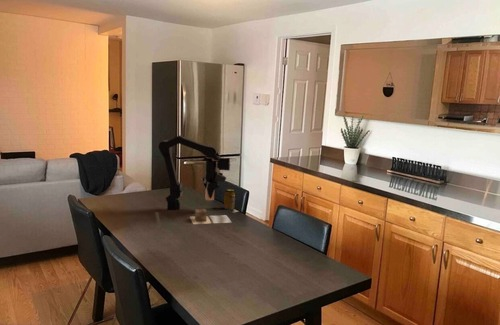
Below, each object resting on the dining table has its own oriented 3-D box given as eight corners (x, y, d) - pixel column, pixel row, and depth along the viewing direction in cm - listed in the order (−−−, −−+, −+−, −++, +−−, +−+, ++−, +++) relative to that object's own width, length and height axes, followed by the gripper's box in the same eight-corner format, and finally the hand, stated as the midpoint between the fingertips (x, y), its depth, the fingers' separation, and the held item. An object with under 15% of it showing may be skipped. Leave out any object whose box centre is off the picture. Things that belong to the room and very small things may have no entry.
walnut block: (196, 221, 200) (196, 212, 199) (194, 218, 205) (195, 209, 204) (206, 221, 202) (206, 211, 201) (204, 218, 206) (204, 208, 205)
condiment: (230, 207, 232) (231, 187, 230) (239, 211, 225) (240, 191, 223) (220, 209, 227) (221, 189, 225) (228, 213, 221) (229, 192, 219)
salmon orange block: (206, 200, 215) (207, 189, 214) (205, 198, 218) (205, 187, 217) (213, 200, 216) (214, 189, 215) (212, 198, 220) (212, 187, 219)
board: (193, 226, 196) (193, 224, 196) (189, 218, 207) (189, 216, 207) (231, 224, 202) (232, 222, 202) (226, 217, 214) (226, 215, 213)
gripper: (229, 172, 208) (228, 201, 211) (221, 166, 225) (219, 192, 228) (208, 172, 205) (207, 202, 207) (201, 166, 222) (200, 192, 225)
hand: (209, 197), depth 217 cm, fingers closed on salmon orange block, 4 cm apart
